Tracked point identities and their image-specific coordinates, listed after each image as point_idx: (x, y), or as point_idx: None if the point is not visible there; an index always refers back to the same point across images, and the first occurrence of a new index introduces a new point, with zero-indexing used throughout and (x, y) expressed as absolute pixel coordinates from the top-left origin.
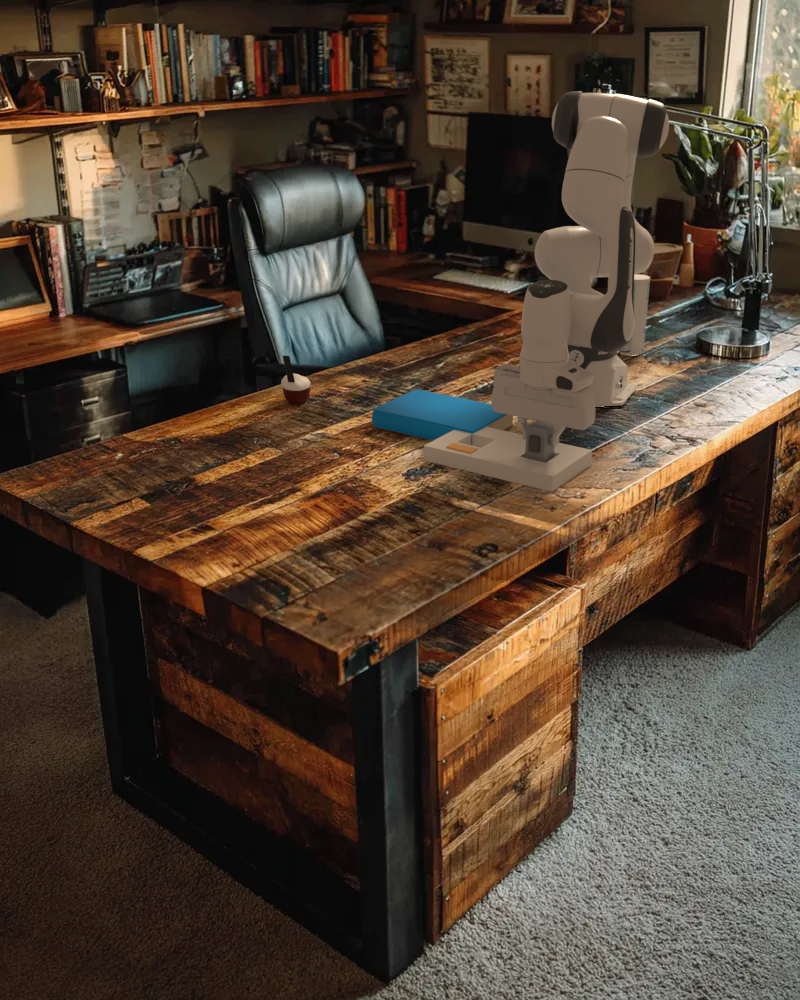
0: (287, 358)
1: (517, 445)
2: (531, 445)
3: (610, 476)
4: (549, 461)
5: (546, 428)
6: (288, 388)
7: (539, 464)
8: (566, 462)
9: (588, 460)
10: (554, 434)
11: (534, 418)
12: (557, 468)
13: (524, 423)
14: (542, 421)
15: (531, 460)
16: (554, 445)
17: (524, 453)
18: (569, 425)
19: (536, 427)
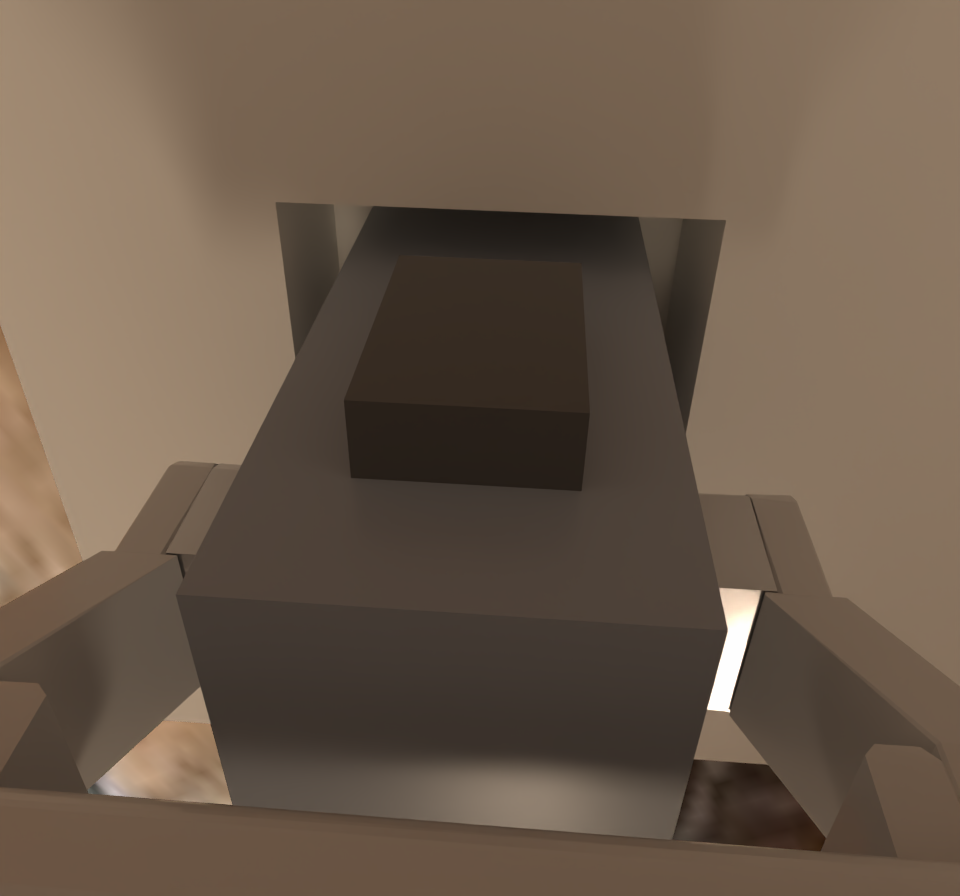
0: None
1: (879, 542)
2: (517, 309)
3: (6, 532)
4: (264, 269)
5: (241, 683)
6: None
7: (308, 82)
8: (81, 347)
9: None
10: (87, 598)
11: (508, 872)
12: (2, 79)
13: (856, 768)
14: (250, 814)
15: (497, 173)
16: (177, 465)
17: (701, 360)
18: None
19: (463, 650)
